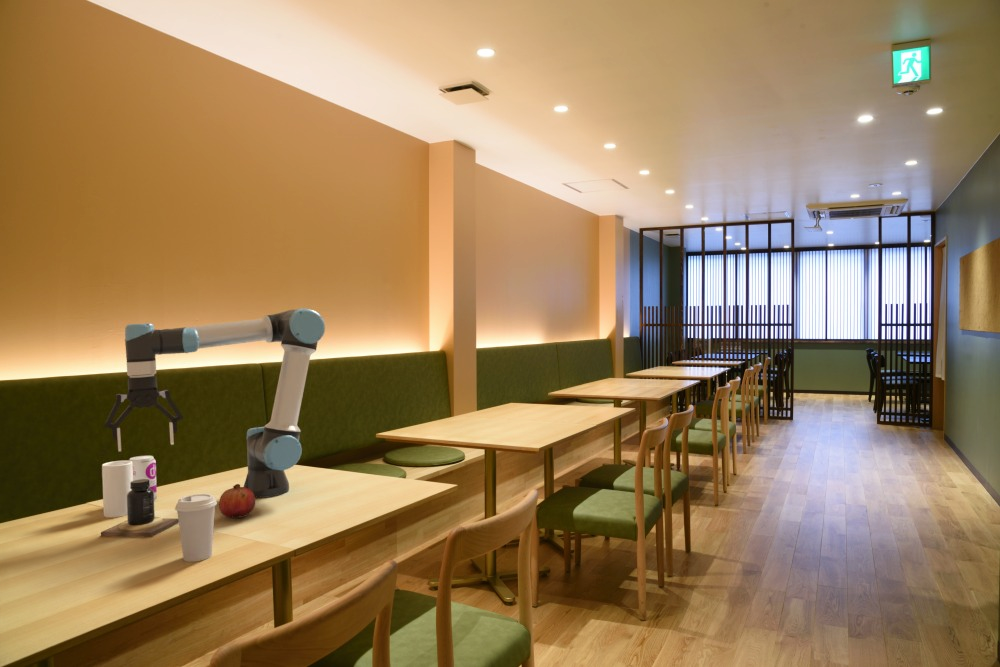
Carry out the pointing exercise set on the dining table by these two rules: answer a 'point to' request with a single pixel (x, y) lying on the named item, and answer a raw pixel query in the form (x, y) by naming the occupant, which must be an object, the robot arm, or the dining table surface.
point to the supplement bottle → (140, 503)
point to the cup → (116, 487)
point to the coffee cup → (196, 525)
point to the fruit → (237, 502)
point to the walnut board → (140, 528)
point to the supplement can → (145, 470)
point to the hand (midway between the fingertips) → (146, 447)
